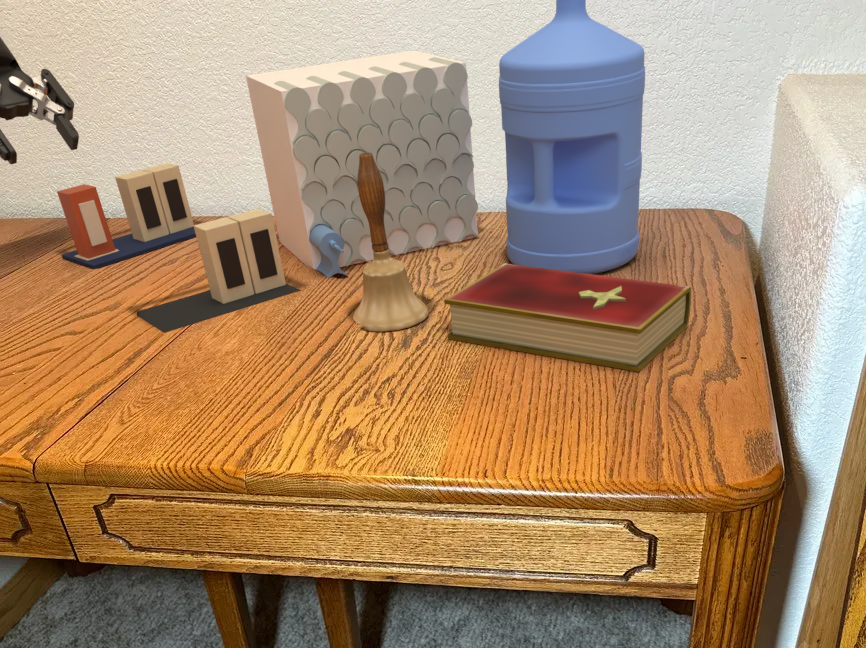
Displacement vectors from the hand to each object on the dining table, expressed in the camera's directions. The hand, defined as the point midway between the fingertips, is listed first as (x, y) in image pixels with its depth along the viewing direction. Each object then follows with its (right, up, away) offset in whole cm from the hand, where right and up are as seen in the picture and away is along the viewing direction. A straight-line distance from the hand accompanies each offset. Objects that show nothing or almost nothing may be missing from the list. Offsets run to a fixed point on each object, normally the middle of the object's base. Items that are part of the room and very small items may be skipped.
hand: (45, 152), depth 118 cm
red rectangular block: (+5, -11, +4) cm, 13 cm away
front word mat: (+27, -25, -14) cm, 39 cm away
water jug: (+68, -18, -9) cm, 71 cm away
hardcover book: (+66, -33, -27) cm, 78 cm away
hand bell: (+47, -29, -20) cm, 59 cm away
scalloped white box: (+45, -13, -1) cm, 47 cm away
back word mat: (+9, -9, +8) cm, 15 cm away
